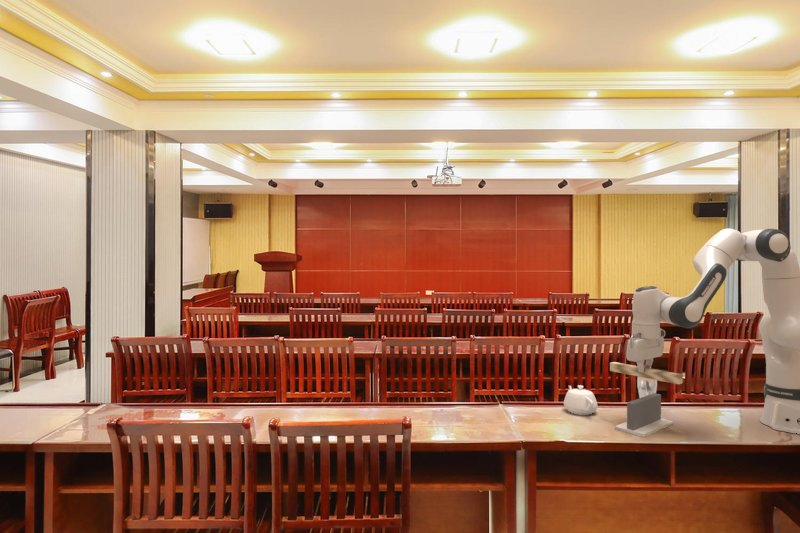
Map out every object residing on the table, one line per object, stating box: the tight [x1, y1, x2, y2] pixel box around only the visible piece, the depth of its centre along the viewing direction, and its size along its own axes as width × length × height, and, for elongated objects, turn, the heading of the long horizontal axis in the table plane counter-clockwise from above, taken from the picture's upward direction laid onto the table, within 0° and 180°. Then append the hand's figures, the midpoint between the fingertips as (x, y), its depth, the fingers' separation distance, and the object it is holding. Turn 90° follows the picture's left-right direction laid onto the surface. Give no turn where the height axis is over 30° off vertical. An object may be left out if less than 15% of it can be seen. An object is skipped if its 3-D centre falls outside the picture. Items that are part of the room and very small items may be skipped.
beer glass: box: [636, 376, 658, 399], centre depth 194 cm, size 7×7×15 cm
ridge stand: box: [614, 392, 674, 438], centre depth 174 cm, size 10×22×10 cm, turn 128°
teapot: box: [563, 384, 599, 416], centre depth 192 cm, size 20×12×10 cm, turn 6°
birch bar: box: [609, 361, 684, 385], centre depth 174 cm, size 24×3×3 cm, turn 39°
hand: (644, 371), depth 174 cm, fingers closed on birch bar, 3 cm apart
